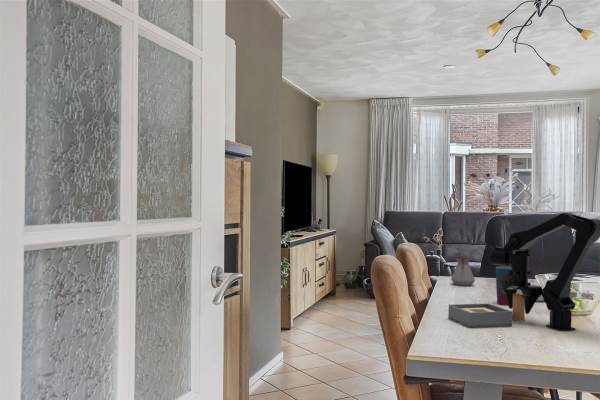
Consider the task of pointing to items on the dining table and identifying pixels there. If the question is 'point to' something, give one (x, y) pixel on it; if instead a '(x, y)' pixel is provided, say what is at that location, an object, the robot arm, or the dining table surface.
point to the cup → (500, 295)
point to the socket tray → (480, 315)
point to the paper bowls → (533, 282)
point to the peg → (518, 307)
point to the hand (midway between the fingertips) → (518, 311)
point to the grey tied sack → (463, 273)
